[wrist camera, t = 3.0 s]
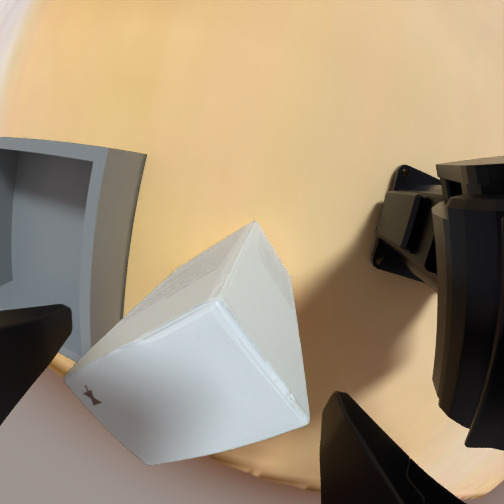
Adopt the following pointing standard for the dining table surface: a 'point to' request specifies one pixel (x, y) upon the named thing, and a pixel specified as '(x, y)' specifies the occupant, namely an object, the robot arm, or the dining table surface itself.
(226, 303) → the skincare box
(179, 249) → the dining table surface
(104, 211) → the box
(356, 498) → the robot arm
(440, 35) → the dining table surface
